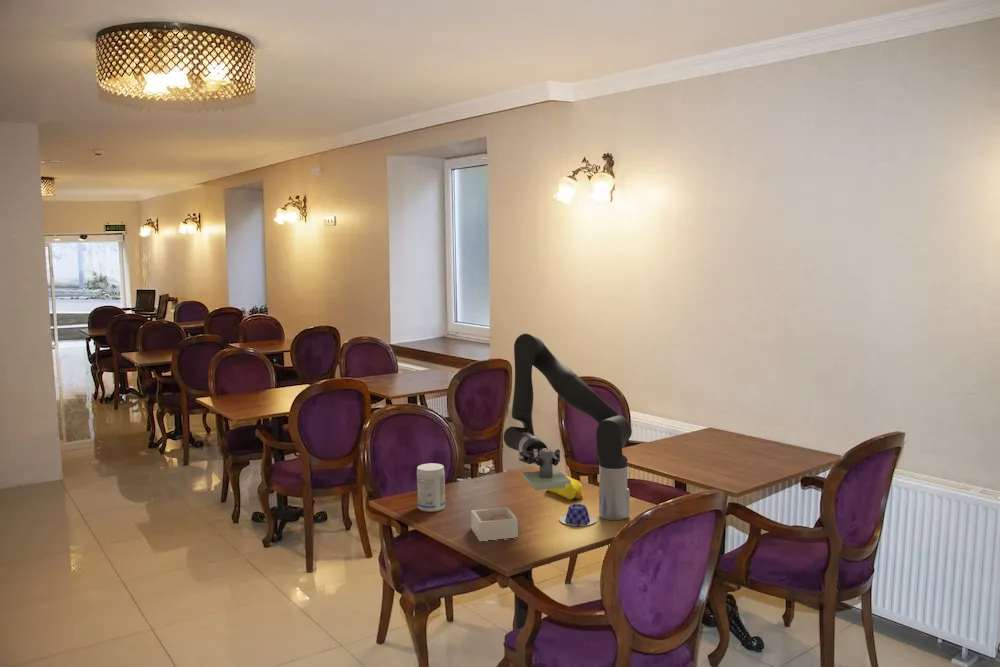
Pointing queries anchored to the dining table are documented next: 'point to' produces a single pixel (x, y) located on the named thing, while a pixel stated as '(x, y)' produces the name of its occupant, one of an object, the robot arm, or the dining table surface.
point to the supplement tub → (431, 487)
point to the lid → (546, 474)
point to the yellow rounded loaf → (570, 490)
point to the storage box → (494, 524)
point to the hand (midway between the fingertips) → (548, 462)
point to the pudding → (577, 516)
